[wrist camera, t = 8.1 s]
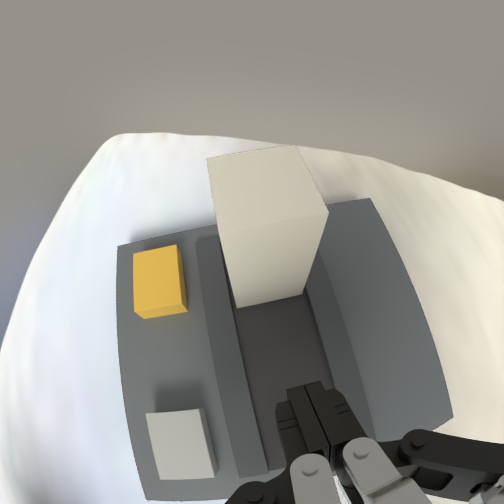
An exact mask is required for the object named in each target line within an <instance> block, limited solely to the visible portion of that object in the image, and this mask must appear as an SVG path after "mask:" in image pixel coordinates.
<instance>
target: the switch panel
mask: <svg viewBox="0 0 504 504" xmlns="http://www.w3.org/2000/svg"><path fill="white" fill-rule="evenodd" d="M326 207H327V209H328V211H329V214H328V218H327V221H326V224H325V227H324V230H323V233H322V237H321V240H320V243H319V246H318V249H317V252H316V255H315V258H314V261H313V264H312V267H311V269H310V272H309V275H308V278H307V281H306V284H305V286H304V289H303V292H302V294H301V295H297V296H292V297H288V298H284V299H279V300H275V301H270V302H266V303H261V304H256V305H251V306H247V307H242V308H237V306H236V302H235V298H234V294H233V290H232V286H231V282H230V278H229V274H228V270H227V266H226V262H225V258H224V253H223V249H222V245H221V241H220V236H219V232H218V226H217V225H213V226H208V227H203V228H198V229H193V230H188V231H183V232H179V233H174V234H169V235H165V236H160V237H156V238H151V239H147V240H142V241H138V242H134V243H129V244H125V245H121V246H118V250H117V276H116V311H117V337H118V352H119V364H120V374H121V383H122V391H123V399H124V405H125V412H126V418H127V424H128V429H129V434H130V439H131V444H132V449H133V453H134V457H135V462H136V466H137V470H138V473H139V477H140V481H141V484H142V488H143V491H144V494H145V498H146V500H157V501H203V500H218V499H229V498H230V497H231V496H232V494H233V493H234V492H235V491H236V490H237V489H238V487H240V486H241V485H243V484H244V483H247V482H251V481H262V482H267V481H269V480H271V479H273V478H275V477H277V476H279V475H280V474H281V473H282V472H283V471H284V470H285V468H286V466H287V462H286V459H285V455H284V451H283V448H282V444H281V440H280V437H279V433H278V428H277V423H276V417H275V409H276V406H277V403H279V402H284V401H287V393H286V389H289V388H293V387H297V386H301V385H305V384H309V383H312V382H316V381H321V383H322V385H323V387H324V388H325V390H329V389H332V388H335V389H336V390H338V391H339V392H341V393H342V394H343V395H344V397H345V399H346V401H347V403H348V404H349V406H350V407H351V410H352V411H353V413H354V414H355V416H356V418H357V420H358V421H359V423H360V425H361V427H362V428H363V430H364V432H365V433H366V435H367V436H368V437H369V438H371V439H373V440H375V441H379V442H387V441H394V440H400V439H402V438H403V436H404V435H405V434H406V433H408V432H409V431H411V430H414V429H424V430H429V431H433V430H434V429H436V428H438V427H439V426H441V425H442V424H444V423H445V422H447V421H448V420H450V419H451V418H453V412H452V407H451V402H450V398H449V393H448V389H447V385H446V381H445V378H444V374H443V370H442V367H441V363H440V360H439V356H438V353H437V350H436V347H435V344H434V340H433V337H432V334H431V332H430V329H429V326H428V323H427V320H426V317H425V315H424V312H423V309H422V307H421V304H420V302H419V299H418V297H417V294H416V292H415V289H414V287H413V284H412V282H411V280H410V277H409V275H408V273H407V270H406V268H405V266H404V264H403V262H402V259H401V257H400V255H399V253H398V251H397V249H396V247H395V245H394V243H393V241H392V239H391V236H390V235H389V233H388V231H387V229H386V227H385V225H384V223H383V221H382V219H381V217H380V215H379V213H378V212H377V210H376V208H375V206H374V204H373V202H372V201H371V199H370V198H367V199H360V200H354V201H347V202H341V203H335V204H328V205H326ZM332 475H333V476H335V475H337V473H336V471H334V472H332Z"/></svg>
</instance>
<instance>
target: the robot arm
mask: <svg viewBox="0 0 504 504" xmlns="http://www.w3.org/2000/svg"><path fill="white" fill-rule="evenodd" d="M286 393H287V401H284V402H279V403H277V406H276V409H275V417H276V423H277V428H278V433H279V437H280V440H281V444H282V448H283V451H284V455H285V459H286V462H287V466H286V468H285V470H284V471H283V472H282V473H281V474H280V475H279V476H277V477H275V478H273V479H271V480H269V481H267V482H262V481H251V482H247V483H244V484H243V485H241V486H240V487H238V489H237V490H236V491H235V492H234V493H233V494H232V496H231V497H230V498H229V499H228V500H227V502H226V503H225V504H341V502H340V499H339V495H338V492H337V488H336V485H335V482H334V478H333V475H332V472H334V471H336V473H337V476H338V485H339V487H340V489H341V491H342V493H343V495H344V497H345V499H346V500H347V502H348V504H432V503H431V502H430V500H429V499H428V498H427V496H426V495H425V494H429V495H433V496H438V497H442V498H447V499H453V500H459V501H465V502H469V504H504V444H499V443H492V442H484V441H478V440H472V439H466V438H461V437H456V436H451V435H446V434H441V433H437V432H433V431H429V430H424V429H414V430H411V431H409V432H408V433H406V434H405V435H404V436H403V438H402V439H400V440H394V441H387V442H379V441H375V440H373V439H371V438H369V437H368V436H367V435H366V433H365V432H364V430H363V428H362V427H361V425H360V423H359V421H358V420H357V418H356V416H355V414H354V413H353V411H352V410H351V407H350V406H349V404H348V403H347V401H346V399H345V397H344V395H343V394H342V393H341V392H339V391H338V390H336V389H335V388H332V389H329V390H325V388H324V387H323V385H322V383H321V381H316V382H312V383H309V384H305V385H301V386H297V387H293V388H289V389H286Z"/></svg>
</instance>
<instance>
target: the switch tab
mask: <svg viewBox="0 0 504 504" xmlns="http://www.w3.org/2000/svg"><path fill="white" fill-rule="evenodd" d="M207 166H208V172H209V178H210V185H211V191H212V197H213V203H214V209H215V214H216V220H217V226H218V232H219V236H220V241H221V245H222V249H223V253H224V258H225V262H226V266H227V270H228V274H229V278H230V282H231V286H232V290H233V294H234V298H235V302H236V306H237V308H242V307H247V306H251V305H256V304H261V303H266V302H270V301H275V300H279V299H284V298H288V297H292V296H297V295H301V294H302V292H303V289H304V286H305V284H306V281H307V278H308V275H309V272H310V269H311V267H312V264H313V261H314V258H315V255H316V252H317V249H318V246H319V243H320V240H321V237H322V233H323V230H324V227H325V224H326V221H327V218H328V214H329V211H328V209H327V207H326V205H325V203H324V201H323V199H322V196H321V194H320V192H319V190H318V188H317V186H316V184H315V182H314V180H313V178H312V176H311V174H310V172H309V170H308V168H307V166H306V164H305V162H304V160H303V158H302V156H301V154H300V152H299V151H298V149H297V147H296V145H290V146H282V147H274V148H266V149H259V150H253V151H246V152H240V153H234V154H228V155H223V156H217V157H212V158H207Z"/></svg>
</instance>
